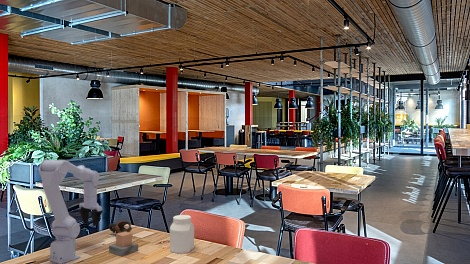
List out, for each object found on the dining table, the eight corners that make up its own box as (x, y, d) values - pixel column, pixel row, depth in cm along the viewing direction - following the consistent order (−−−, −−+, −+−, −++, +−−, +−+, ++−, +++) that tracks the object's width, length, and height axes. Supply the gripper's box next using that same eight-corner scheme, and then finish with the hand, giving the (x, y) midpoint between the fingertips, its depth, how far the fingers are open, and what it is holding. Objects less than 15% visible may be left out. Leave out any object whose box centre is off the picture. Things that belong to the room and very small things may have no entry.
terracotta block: (122, 247, 164) (122, 236, 164) (115, 244, 167) (115, 233, 167) (131, 244, 168) (131, 233, 168) (125, 242, 171) (125, 231, 171)
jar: (187, 254, 164) (187, 220, 163) (167, 252, 166) (167, 219, 166) (196, 246, 175) (196, 214, 175) (177, 244, 177) (177, 213, 177)
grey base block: (121, 257, 161) (121, 249, 161) (109, 253, 166) (109, 245, 166) (138, 251, 168) (138, 244, 168) (125, 247, 173) (125, 240, 173)
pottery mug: (132, 232, 199) (134, 221, 195) (127, 245, 190) (129, 233, 187) (110, 227, 198) (112, 215, 194) (104, 239, 189) (106, 228, 186)
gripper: (107, 196, 173) (107, 224, 174) (88, 192, 181) (88, 220, 182) (94, 198, 167) (94, 228, 168) (75, 195, 175) (75, 223, 176)
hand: (90, 224), depth 174 cm, fingers open, 7 cm apart
